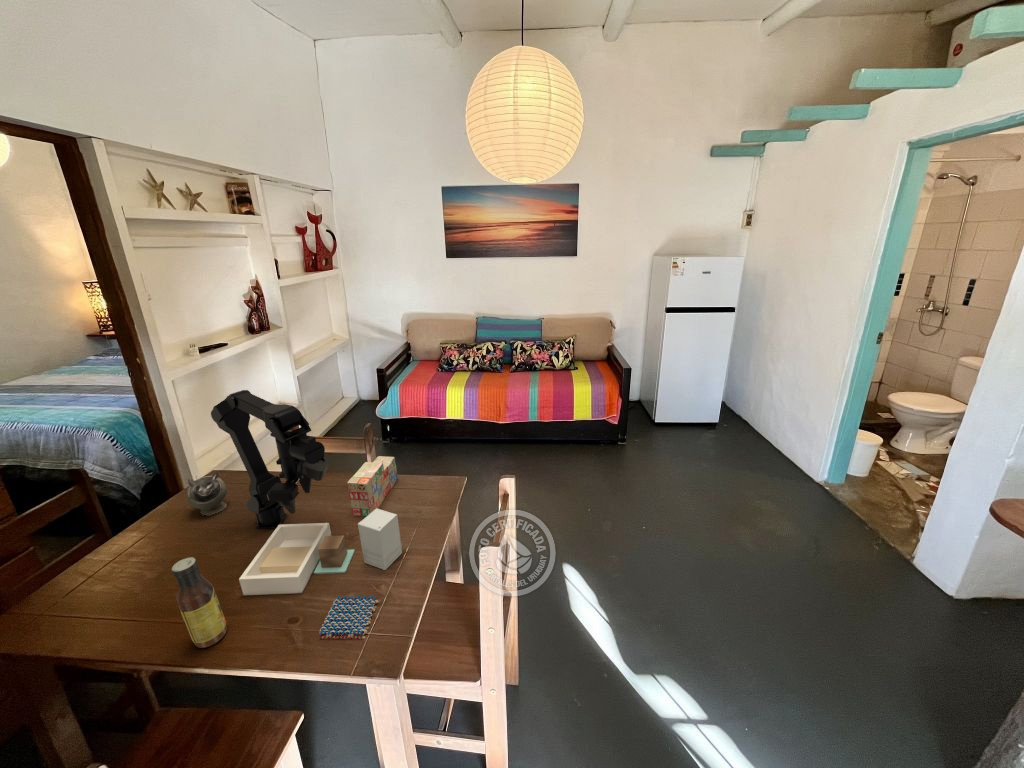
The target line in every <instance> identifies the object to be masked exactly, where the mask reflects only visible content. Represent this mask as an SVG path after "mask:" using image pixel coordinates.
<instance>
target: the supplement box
mask: <svg viewBox="0 0 1024 768" xmlns="http://www.w3.org/2000/svg"><path fill="white" fill-rule="evenodd" d="M399 526H400V525H399V518H398V514H397V513H393V512H389V511H387V510H383V509H380V508H378V509H377V508H376V509H375V510H374V511H373V512H371V513H370V514H369V515H368V516H367V517H366V516H364V518H363V519H362V520H360V521H359V522H358V523H357V527H358V532H359V533H358V535H359V539H360V544H361V551H362V556H363V562H364V564H367V565H370V566H372V567H375V568H378V569H380V570H384V571H386V570H387V569H388V568H389V567H390V566H391V565H392V564H393V563H394V562H396V560H397V559H398V558H399V557H400V556H401V554H402V553H403V550H402V549H403V548H402V540H401V532H400V527H399Z"/></svg>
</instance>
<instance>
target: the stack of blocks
mask: <svg viewBox="0 0 1024 768" xmlns="http://www.w3.org/2000/svg"><path fill="white" fill-rule="evenodd" d="M398 480H399V479H398V471H397V465H396V458H395V457H394V456H381V455H379V456H377V457H376V458H375V459H374V461H373V462H370V461H365V462H364V463H363V464H362V465H361V467H359V469H358V470H357V471H356V472H355V474H354V475H352V477H351V478H350V479H349V480H348V481H347V488H348V496H349V497H348V498H349V501H350V506H351V507H350V508H351V513H352V516H353V517H367V516H368V515H369V514H370V513H371V512H373V511H374V510H375V509H376V508H377V509H379V507H380V506H381V505H382V504H383V502H382V501H385V500H384V499H385V498H386V497H387V495H388V494H389V492H390V491H391V490H392V489H393V487H394V486H395V484H396V483H397V482H398ZM387 493H388V494H387ZM385 496H386V497H385Z"/></svg>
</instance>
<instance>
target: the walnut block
mask: <svg viewBox="0 0 1024 768" xmlns="http://www.w3.org/2000/svg"><path fill="white" fill-rule="evenodd" d="M346 543H347V542H346V538H345V535H331V536H325V538H324V539H323V541H322V543H321V545H320V546H319V548H318V552H319V557H320V560H319V562H321V567H322V568H333V567H341V566H342V564H343V562H344V560H345V558H346V556H347V550H348V549H347V544H346Z"/></svg>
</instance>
